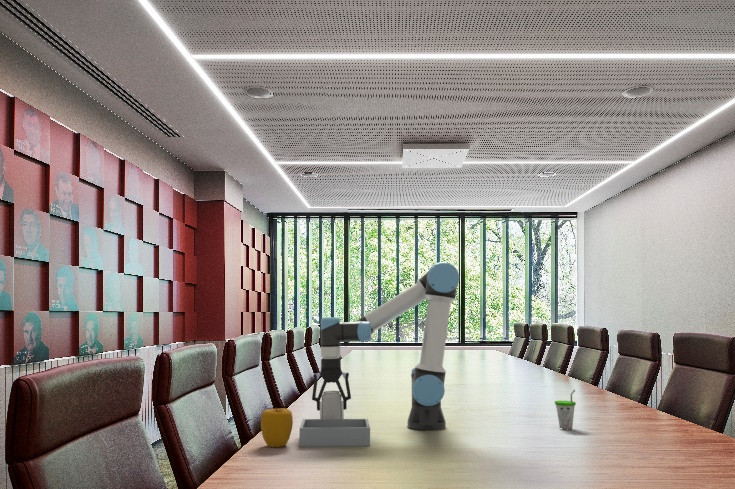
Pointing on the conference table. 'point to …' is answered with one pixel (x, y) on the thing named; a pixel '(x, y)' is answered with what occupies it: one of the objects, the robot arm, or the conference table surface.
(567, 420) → the cup
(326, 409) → the can
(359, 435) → the walled box
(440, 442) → the conference table surface
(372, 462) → the conference table surface
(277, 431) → the apple
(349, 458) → the conference table surface
